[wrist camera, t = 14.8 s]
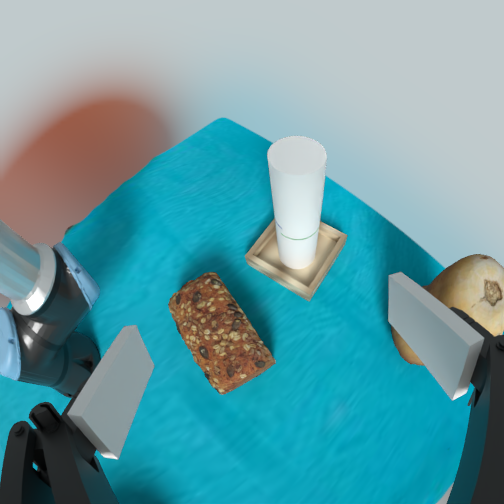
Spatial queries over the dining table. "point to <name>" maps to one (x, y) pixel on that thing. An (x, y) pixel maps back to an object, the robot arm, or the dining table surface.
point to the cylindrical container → (297, 197)
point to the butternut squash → (466, 296)
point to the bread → (218, 333)
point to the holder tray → (296, 280)
